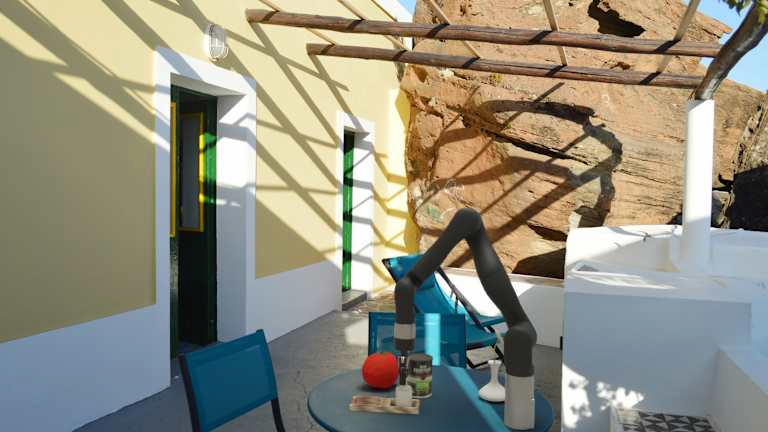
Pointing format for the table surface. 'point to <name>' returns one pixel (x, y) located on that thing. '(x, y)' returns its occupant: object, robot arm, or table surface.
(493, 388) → the flower in vase
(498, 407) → the table surface
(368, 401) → the rail
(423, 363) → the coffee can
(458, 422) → the table surface
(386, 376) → the tomato
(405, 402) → the eye dropper bottle
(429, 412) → the table surface
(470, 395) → the table surface
